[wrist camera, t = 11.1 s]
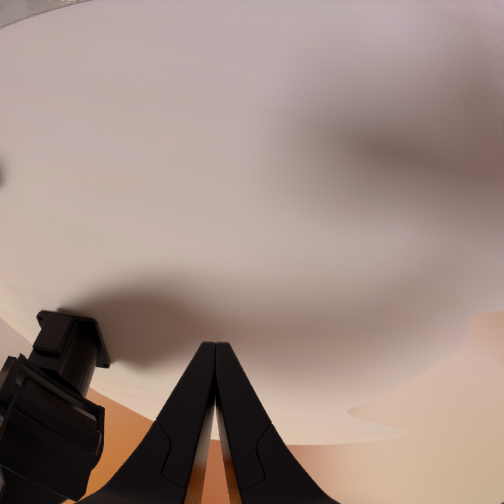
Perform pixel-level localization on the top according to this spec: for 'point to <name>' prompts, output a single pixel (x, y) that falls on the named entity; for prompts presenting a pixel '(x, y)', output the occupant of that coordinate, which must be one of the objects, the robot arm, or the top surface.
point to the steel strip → (29, 9)
